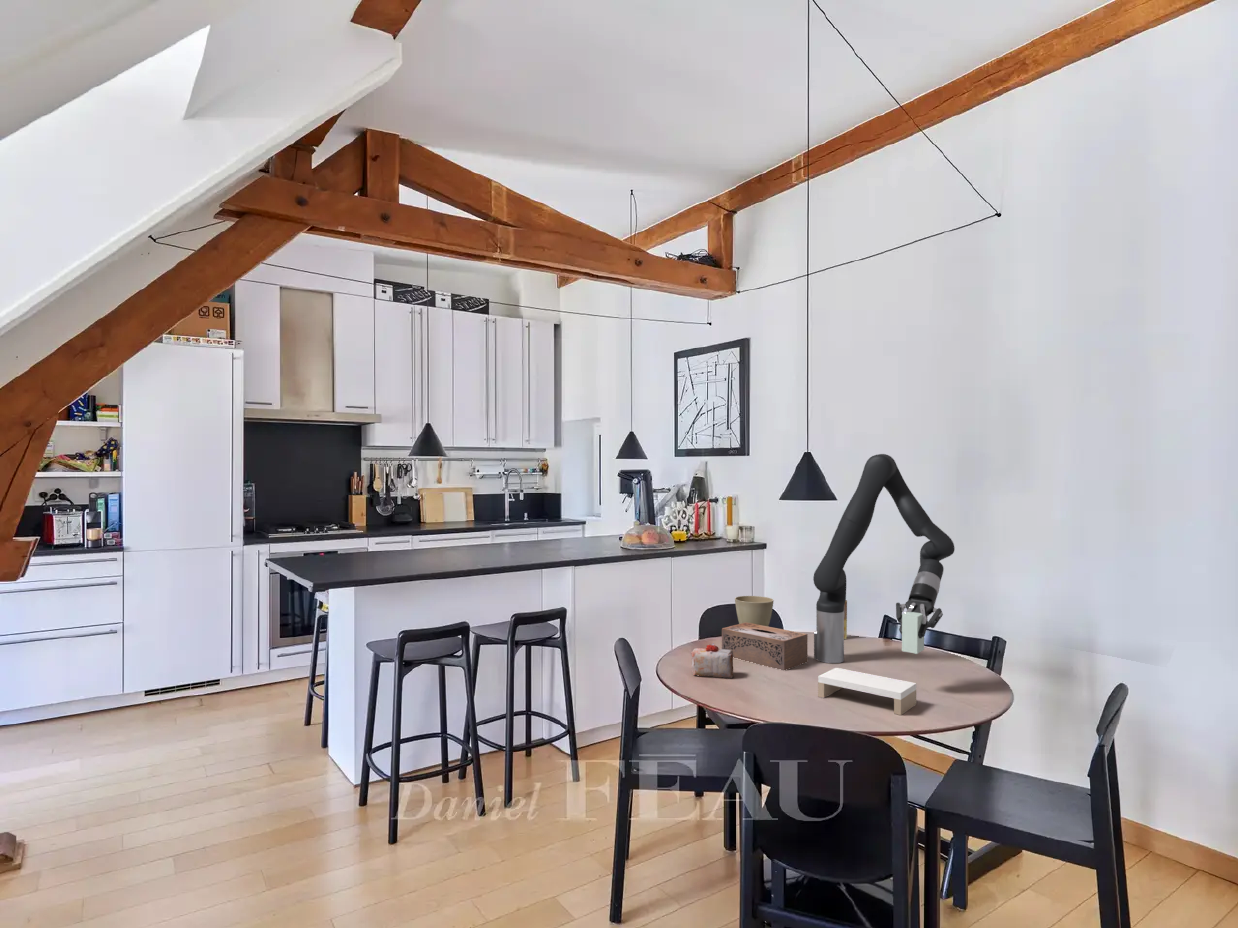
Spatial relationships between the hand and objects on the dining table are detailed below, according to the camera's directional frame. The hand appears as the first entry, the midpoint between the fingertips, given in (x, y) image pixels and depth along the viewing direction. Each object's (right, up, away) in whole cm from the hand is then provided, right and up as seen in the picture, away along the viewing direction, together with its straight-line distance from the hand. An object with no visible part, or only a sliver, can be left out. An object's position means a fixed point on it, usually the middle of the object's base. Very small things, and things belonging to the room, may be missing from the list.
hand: (911, 635), depth 216 cm
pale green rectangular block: (+1, -5, +1) cm, 5 cm away
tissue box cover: (-37, -18, +37) cm, 55 cm away
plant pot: (-35, -17, +65) cm, 76 cm away
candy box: (-3, -17, +66) cm, 69 cm away
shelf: (-16, -17, -8) cm, 24 cm away
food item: (-57, -17, +18) cm, 62 cm away
